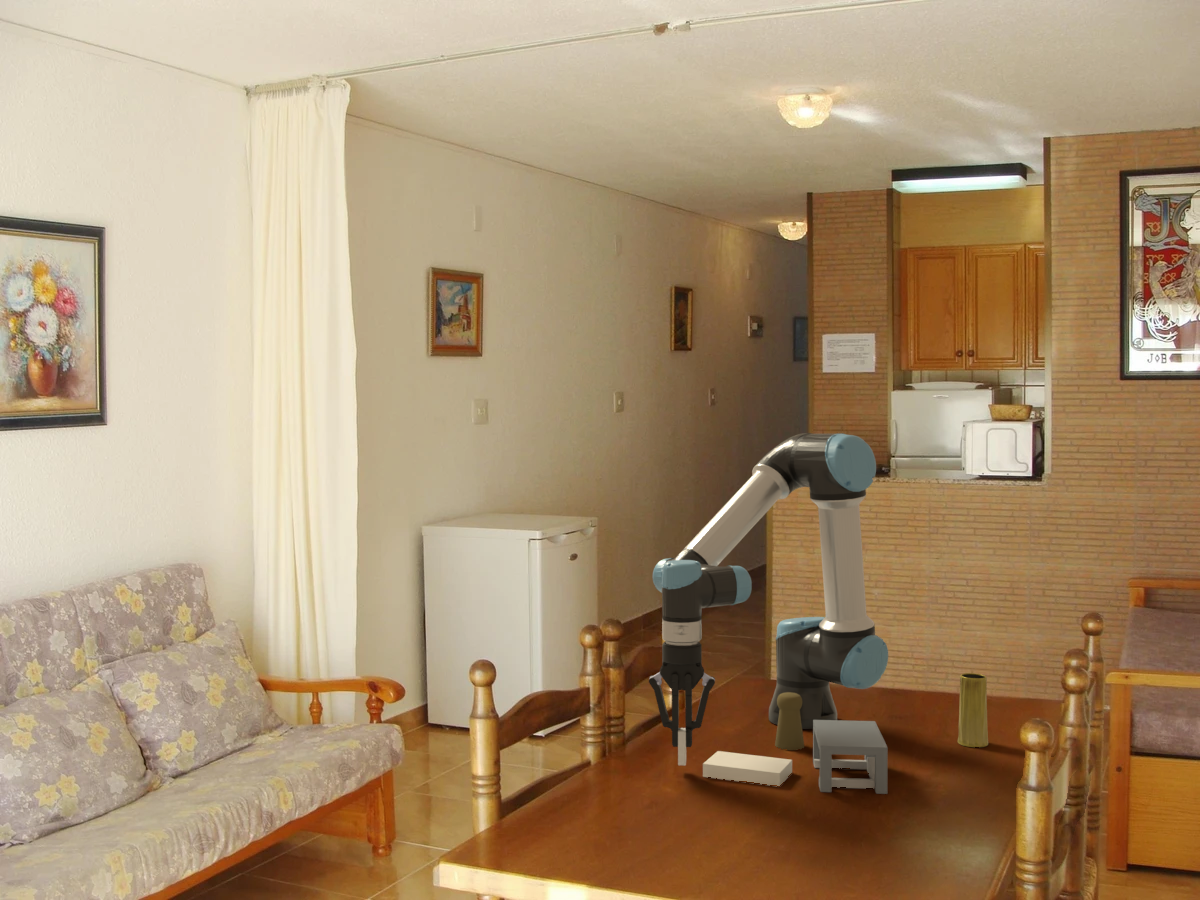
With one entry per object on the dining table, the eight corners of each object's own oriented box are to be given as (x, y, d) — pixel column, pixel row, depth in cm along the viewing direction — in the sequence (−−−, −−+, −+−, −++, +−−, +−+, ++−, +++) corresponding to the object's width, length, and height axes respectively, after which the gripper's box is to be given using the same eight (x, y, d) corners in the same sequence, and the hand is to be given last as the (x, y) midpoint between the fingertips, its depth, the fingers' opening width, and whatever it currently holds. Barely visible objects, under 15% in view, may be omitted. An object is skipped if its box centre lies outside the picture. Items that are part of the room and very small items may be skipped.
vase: (992, 747, 243) (992, 679, 242) (962, 747, 243) (962, 679, 243) (983, 739, 249) (983, 672, 249) (953, 739, 249) (954, 672, 249)
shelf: (813, 762, 234) (813, 719, 233) (874, 763, 233) (875, 721, 232) (820, 791, 216) (820, 745, 216) (887, 793, 215) (887, 747, 214)
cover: (717, 766, 233) (717, 750, 233) (792, 775, 227) (792, 759, 227) (702, 779, 225) (702, 763, 225) (779, 789, 219) (779, 773, 219)
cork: (803, 742, 248) (803, 690, 247) (805, 750, 242) (805, 697, 241) (774, 741, 248) (774, 689, 248) (775, 749, 242) (775, 696, 242)
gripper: (646, 644, 224) (647, 768, 224) (715, 646, 222) (716, 770, 223) (649, 637, 231) (649, 756, 232) (716, 638, 230) (716, 758, 230)
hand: (682, 763), depth 227 cm, fingers closed
